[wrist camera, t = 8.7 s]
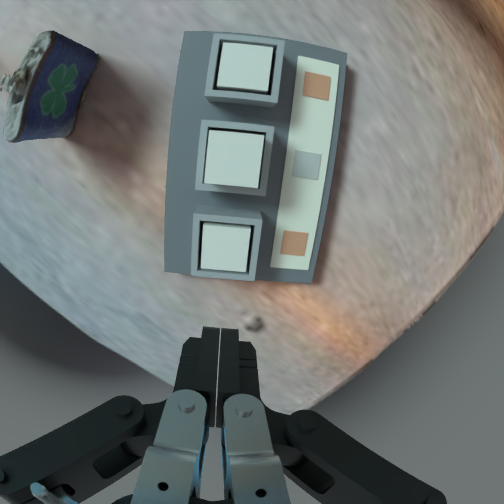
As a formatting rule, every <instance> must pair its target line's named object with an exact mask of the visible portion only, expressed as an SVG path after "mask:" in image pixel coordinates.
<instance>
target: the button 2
mask: <svg viewBox="0 0 504 504" xmlns="http://www.w3.org/2000/svg"><path fill="white" fill-rule="evenodd" d="M272 53H273V47H266V46H258V45H249V44H239V43H225V42H223V47H222V53H221V60H220V67H219V74H218V81H217V88H218V90H223V91H235V92H245V93H254V94H263V95H266V93H267V91H268V85H269V77H270V69H271V61H272Z"/></svg>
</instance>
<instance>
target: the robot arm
mask: <svg viewBox="0 0 504 504" xmlns="http://www.w3.org/2000/svg"><path fill="white" fill-rule="evenodd" d="M219 335H220V328H214V327H203V330H202V337H201V338H194V337H190V338H189V339H188V340H187V341H186V342H185V343H184V344H183V348H182V353H181V357H180V363H179V367H178V371H177V376H176V381H175V386H174V390H173V393H172V394H171V395H170V396H169V397H168V398H167V399H166V400H164V401H162V402H159V403H153V404H144V405H142V404H141V403H140V402H139V401H138V400H137V399H135V398H134V397H131V396H125V395H123V396H117V397H114V398H112V399H110V400H109V401H107V402H105V403H103V404H102V405H100V406H98V407H96V408H94V409H93V410H91V411H89V412H87V413H85V414H84V415H82V416H80V417H78V418H77V419H75V420H73V421H71V422H69V423H67V424H65V425H63V426H62V427H59V428H58V429H55V430H54V431H52V432H50V433H48V434H46V435H44V436H42V437H40V438H38V439H36V440H34V441H32V442H30V443H28V444H26V445H24V446H21V447H19V448H17V449H15V450H13V451H11V452H9V453H7V454H5V455H2V456H0V496H1V497H2V498H3V499H5V500H6V501H7V502H8V503H9V504H79V503H81V502H82V501H84V500H86V499H87V498H89V497H91V496H93V495H94V494H96V493H98V492H99V491H101V490H103V489H104V488H106V487H107V486H109V485H111V484H112V483H114V482H116V481H117V480H119V479H120V478H122V477H123V476H125V475H126V474H128V473H129V472H131V471H132V470H134V469H135V468H137V467H138V466H140V465H141V464H142V465H141V469H140V472H139V475H138V479H137V482H136V486H135V489H134V493H133V494H131V495H128V496H125V497H123V498H120V499H118V500H116V501H115V502H113V503H112V504H291V503H290V499H289V495H288V490H287V486H286V482H285V477H284V474H285V475H286V476H287V477H288V478H290V479H291V480H292V481H293V482H295V483H296V484H297V485H298V486H299V487H301V488H302V489H303V490H305V491H306V492H307V493H309V494H310V495H311V496H312V497H314V498H315V499H316V500H318V501H319V502H320V503H322V504H447V501H446V498H445V496H444V494H443V493H442V492H440V491H439V490H437V489H435V488H433V487H432V486H430V485H428V484H426V483H424V482H422V481H421V480H418V479H417V478H415V477H414V476H412V475H410V474H408V473H407V472H405V471H403V470H402V469H400V468H398V467H397V466H395V465H393V464H392V463H390V462H389V461H387V460H385V459H384V458H382V457H381V456H379V455H377V454H376V453H374V452H373V451H371V450H370V449H368V448H367V447H365V446H364V445H362V444H361V443H359V442H358V441H356V440H355V439H353V438H352V437H351V436H349V435H347V434H346V433H345V432H343V431H342V430H341V429H339V428H338V427H336V426H335V425H334V424H332V423H331V422H329V421H328V420H327V419H325V418H324V417H322V416H321V415H320V414H318V413H316V412H314V411H311V410H299V411H296V412H294V413H292V414H291V415H286V414H282V413H278V412H275V411H273V410H271V409H269V408H268V407H267V406H265V405H264V403H263V402H262V400H261V398H260V390H259V380H258V369H257V358H256V350H255V348H254V347H253V345H252V344H251V342H245V341H239V331H238V329H227V328H221V342H220V358H219V375H218V395H217V416H216V427H219V428H221V457H222V469H223V480H224V500H221V501H207V500H204V499H200V488H201V478H202V471H203V464H204V458H205V451H206V445H207V441H208V437H209V427H214V422H215V402H216V384H217V367H218V351H219Z"/></svg>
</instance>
